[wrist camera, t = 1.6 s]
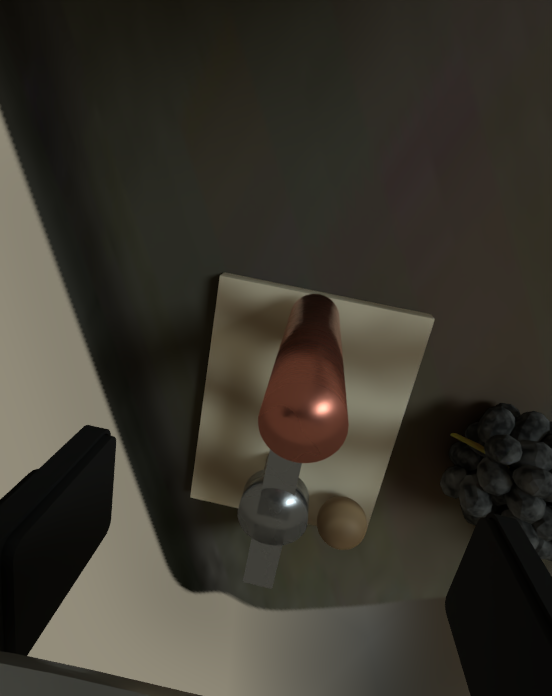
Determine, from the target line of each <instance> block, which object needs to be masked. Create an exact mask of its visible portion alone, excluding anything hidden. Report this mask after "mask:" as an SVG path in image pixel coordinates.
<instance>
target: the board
mask: <svg viewBox="0 0 552 696" xmlns="http://www.w3.org/2000/svg"><path fill="white" fill-rule="evenodd" d="M309 294H321V295H324V296H326V297H328V298H329V299H331V300H332V301H333V302H334V304H335V305H336V307H337V309H338V312H339V319H340V331H341V342H342V354H343V365H344V376H345V388H346V399H347V411H348V422H349V427H348V434H347V437H346V439H345V441H344V443H343V445H342V446H341V447H340V449H339V450H338V451H337V452H336V453H334V454H333V455H332V456H330V457H328V458H326V459H324V460H321V461H318V462H313V463H302V465H301V470H300V474H299V478H300V479H301V480H302V481H303V482H304V484H305V485H306V487H307V489H308V493H309V510H308V523H307V524H310V525H314V526H317V515H318V512H319V510H320V508H321V506H322V505H323V504H324V503H325V502H326V501H327V500H329V499H331V498H333V497H337V496H344V497H348V498H351V499H353V500H354V501H356V502H357V503H358V504H359V505H360V506H361V507H362V509H363V511H364V513H365V515H366V519H367V527H368V524H369V521H370V518H371V515H372V512H373V509H374V505H375V502H376V499H377V496H378V493H379V490H380V487H381V484H382V481H383V478H384V475H385V471H386V468H387V465H388V462H389V459H390V456H391V453H392V450H393V447H394V444H395V441H396V437H397V434H398V431H399V428H400V425H401V422H402V419H403V416H404V413H405V410H406V407H407V404H408V400H409V397H410V394H411V391H412V388H413V385H414V382H415V379H416V376H417V373H418V370H419V366H420V363H421V360H422V357H423V354H424V351H425V348H426V345H427V342H428V339H429V336H430V333H431V329H432V326H433V323H434V320H435V319H434V318H433V316H432V315H431V314H427V313H422V312H417V311H413V310H408V309H403V308H398V307H393V306H388V305H383V304H378V303H373V302H368V301H363V300H358V299H353V298H348V297H343V296H339V295H334V294H329V293H324V292H319V291H314V290H309V289H304V288H299V287H294V286H289V285H284V284H279V283H274V282H270V281H265V280H260V279H255V278H250V277H245V276H240V275H235V274H230V273H225V272H224V273H223V274H221V275H220V279H219V287H218V294H217V302H216V309H215V316H214V324H213V331H212V339H211V346H210V354H209V361H208V368H207V376H206V383H205V391H204V398H203V406H202V413H201V421H200V428H199V435H198V443H197V450H196V458H195V465H194V473H193V480H192V487H191V495H190V497H191V498H195V499H199V500H204V501H208V502H213V503H217V504H222V505H226V506H230V507H235V508H239V504H240V501H241V497H242V494H243V490H244V487H245V484H246V482H247V481H248V479H249V478H250V477H251V476H252V475H253V474H255V473H256V472H258V471H261V470H264V469H266V466H267V462H268V457H269V452H270V449H269V447H268V446H267V445H266V444H265V442H264V441H263V439H262V437H261V435H260V432H259V427H258V416H259V412H260V408H261V405H262V402H263V399H264V395H265V392H266V389H267V386H268V383H269V379H270V376H271V373H272V370H273V367H274V363H275V360H276V357H277V354H278V351H279V347H280V344H281V341H282V338H283V335H284V331H285V328H286V325H287V322H288V319H289V315H290V312H291V309H292V307H293V305H294V304H295V303H296V301H297V300H299V299H300V298H301V297H303V296H305V295H309Z"/></svg>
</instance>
